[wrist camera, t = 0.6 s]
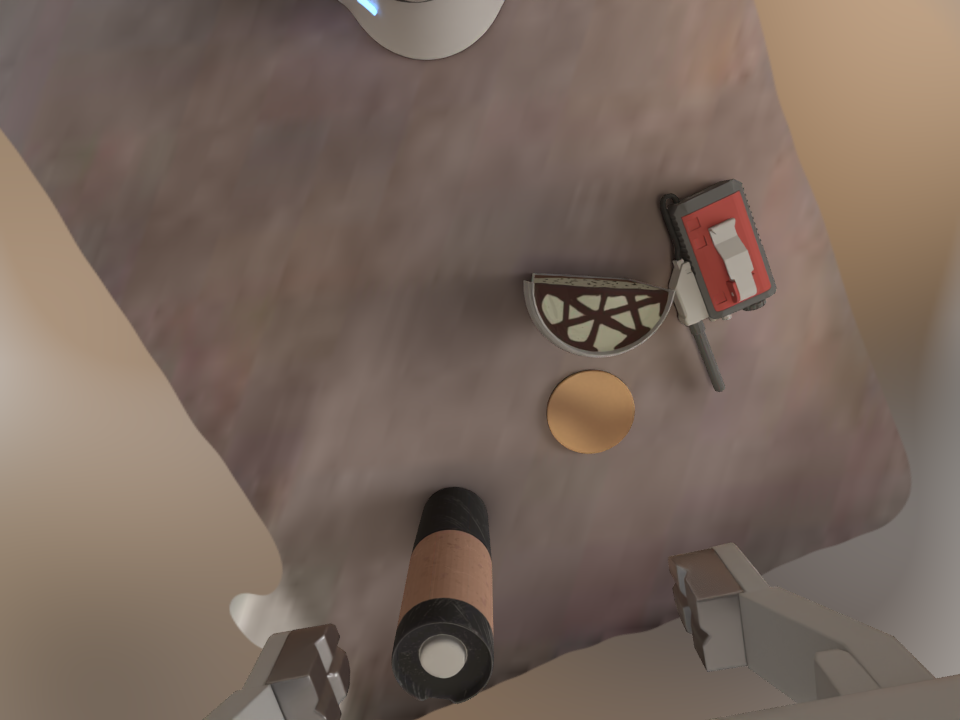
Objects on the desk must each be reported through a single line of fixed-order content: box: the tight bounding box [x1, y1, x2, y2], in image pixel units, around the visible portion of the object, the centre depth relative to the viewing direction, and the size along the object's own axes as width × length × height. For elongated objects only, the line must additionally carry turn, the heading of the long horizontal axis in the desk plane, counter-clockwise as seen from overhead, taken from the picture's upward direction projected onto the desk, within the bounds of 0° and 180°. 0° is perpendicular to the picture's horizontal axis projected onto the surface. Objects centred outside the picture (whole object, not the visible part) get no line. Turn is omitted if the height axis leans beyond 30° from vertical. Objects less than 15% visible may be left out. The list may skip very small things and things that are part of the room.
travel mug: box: [392, 487, 494, 704], centre depth 47 cm, size 8×8×20 cm
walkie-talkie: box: [660, 179, 777, 392], centre depth 49 cm, size 9×4×20 cm
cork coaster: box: [547, 370, 635, 453], centre depth 54 cm, size 9×9×1 cm
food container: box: [524, 273, 676, 357], centre depth 47 cm, size 12×6×10 cm, turn 87°
